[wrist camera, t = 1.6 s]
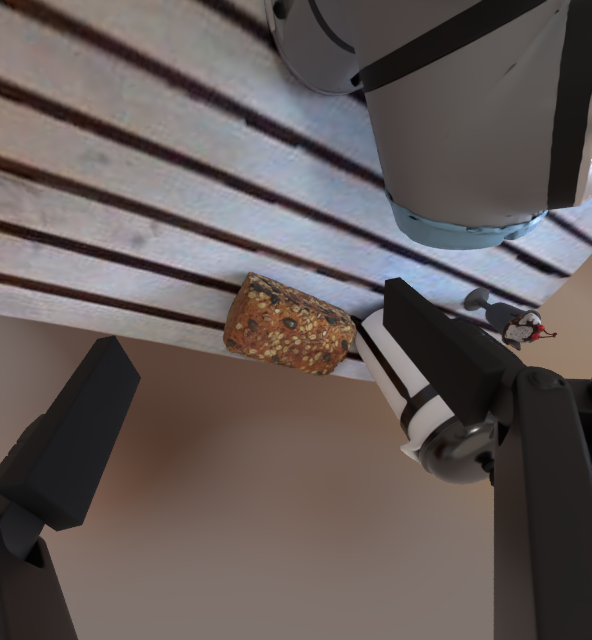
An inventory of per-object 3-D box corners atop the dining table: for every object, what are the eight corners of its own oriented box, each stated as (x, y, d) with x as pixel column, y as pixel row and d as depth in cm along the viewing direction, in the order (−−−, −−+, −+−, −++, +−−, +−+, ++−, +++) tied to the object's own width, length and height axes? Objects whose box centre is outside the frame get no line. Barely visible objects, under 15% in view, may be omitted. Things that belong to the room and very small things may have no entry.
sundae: (490, 276, 51) (571, 319, 39) (494, 302, 55) (570, 349, 43) (457, 295, 52) (526, 343, 40) (463, 319, 56) (528, 370, 44)
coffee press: (389, 366, 59) (501, 527, 34) (328, 345, 53) (412, 525, 28) (444, 300, 52) (635, 442, 28) (382, 267, 46) (557, 413, 21)
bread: (222, 319, 46) (219, 358, 37) (249, 263, 41) (253, 293, 33) (315, 351, 53) (330, 389, 45) (346, 306, 49) (369, 340, 41)
